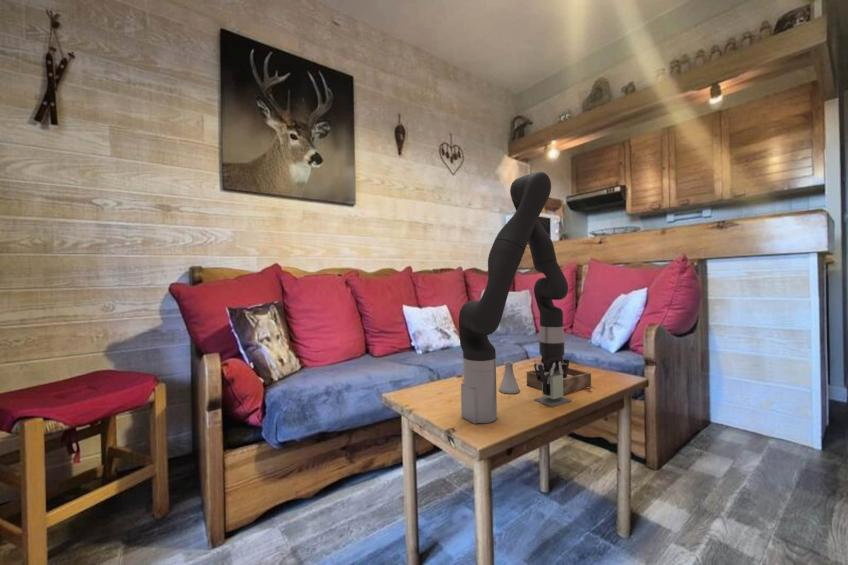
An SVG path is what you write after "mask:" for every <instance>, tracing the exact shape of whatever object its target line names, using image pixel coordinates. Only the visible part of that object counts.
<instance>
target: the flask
mask: <svg viewBox="0 0 848 565" xmlns="http://www.w3.org/2000/svg"><path fill="white" fill-rule="evenodd" d="M503 364H504V371H503V372H504V373H503V376H502V380H501V383H500V385H499V389H498V391H500V393H502V394H519V393H520V391H521V390H520V387H519V385H518V382H517V379H516V377H515V373H514V367H513V365H514V362H513V361H504V362H503Z"/></svg>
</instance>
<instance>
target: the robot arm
mask: <svg viewBox="0 0 848 565" xmlns="http://www.w3.org/2000/svg"><path fill="white" fill-rule="evenodd" d="M551 190H552V180H551V178H550V177H549V175H548V174H547V173H545V172H543V171H535V172H531V173H529V174H526V175H524V176H520V177H517V178H516V179H514V180H513V181H512V183H511V185H510V188H509V191H510V192H509V193H510V198H511V201H512V204H513V207H514V209H515V212H514V214H513V215H512V216H511V218H510V219H509V220H507V222H506V223H505V225H504V226H503V227H502V228H501V229H500V230H499V232H498V233H497V235H496V237H495V238H494V241H493V244H492V245H491V248H490V250H489V254H488V257H487V272H488V275H487V282H486V287H485V289H484V292H483V293H482V296H481V299H480V300H469V301H467V302H465V303H463V305H462V306H461V308H460V310H459V313H458V330H459V331H458V332H459V333H458V334H459V343H460V348H461V351H462V360H463V362H462V363H463V365H462V366H463V368H462V369H463V383H461V384H460V401H461V402H460V404H461V409H460V410H461V418H463V419H465V420H466V421H468V422H470V423H471V424H474V425H475V424H489V423H493V422H494V421H496V420H497V419H498V409H497V408H498V406H497V404H498V403H497V402H498V401H497V400H498V399H497V358H496V356H497V354H496V353H497V350H496V348H495V346H494V345H493V344H492V343H491V341H490V340H489V337H488V336H490V335H492V334H494V333H495V332H496V331H497V329H498V328H499V326H500V324H501V320H502V318H503V315H504V310H505V307H506V303H507V300H508V296H509V293H510V290H511V286H512V284H513V281H514V279H515V276H516V273H517V271H518V269H519V267H520V264H521V262H522V260H523V257H524V254H525V250H526V249H527V246H529V250H530V254H531V259H532V263H533V267H534V270H535V271H536V272H538V273H541V274H543V275H544V277H541V278H537V280H536V282H534V286H533V295H534V298H535V303H536V304H537V309H538V313H539V330H538V331H539V332H538V334H539V335H538V336H539V337H538V338H539V339H538V340H539V342H538V344H539V346H538V349H539V354H540V357H541V360H540V362H538V363H534V365H533V366H534V367H533V368H534V370H535V372H536V377H537V381H540V382H542V384H543V393H544V395H547V396H549V395H550V384H549V383H550V377H551V376H553V372H554V373H557V374H563V370H564V374H563V378H566V377H567V373H568V368H570V367H569V366H570V365H569V364H570V360H569V359H567V358H564V356H565V331H564V312H563V309H562V308H560V307H558V306H555V305H554V302H553V301H562V300H563V299H565V298H566V297H567V296H568V294H569V293H568V292H569V285H568V284H569V283H568V281H567V279H566V276H565V274H564V273H563V271H562V268H561V267H560V265H559V263H558V261H557V256H556V251H555V246H554V244H553V240H552V238H551V236H550V235H549V234H548V232H547V231H546V230H545V228H544V226H543V225H542V223H541V222H540V220H539V217H540V215H541V213H542V211H543V209H544V207H545V205H546V204H547V202H548V200H549V198H550V195H551ZM546 372H549V373H546ZM540 376H541V377H540ZM545 376H547V379H545Z"/></svg>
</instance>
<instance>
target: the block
mask: <svg viewBox="0 0 848 565" xmlns="http://www.w3.org/2000/svg"><path fill="white" fill-rule="evenodd" d="M547 373H549V372H547ZM545 379H547V376H545ZM549 384H550V395H549V396H547V395H544V393H543V384H542V390H541V392H542V393H541V396H542V397H544V396H546V397H548V398H551V399H556V398H560V397H564V395H563V374H557V373H554V372H553V376H551V377H550V383H549Z"/></svg>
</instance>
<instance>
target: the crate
mask: <svg viewBox="0 0 848 565" xmlns="http://www.w3.org/2000/svg"><path fill="white" fill-rule="evenodd" d="M546 373H547V372H546ZM563 374H564V370H563ZM540 377H541V376H540ZM526 386H528V387H530V388H533V389H536V390H539V391H542V382H540V381H537V377H536V372H535V369H534V370H530V371H529V370H528V371H526ZM590 386H591V387H592V373H591V372H587V371H583V370H579V369H574V368H571V367H568V373H567V377H566V378H563V396H564V395H567V394H572V393H575V392H574V391H576V392H578V391H577V390H579V391H582V390H581V389H583V390H585V389H584V388H587V387H590ZM587 389H588V388H587ZM571 392H572V393H571Z"/></svg>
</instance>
